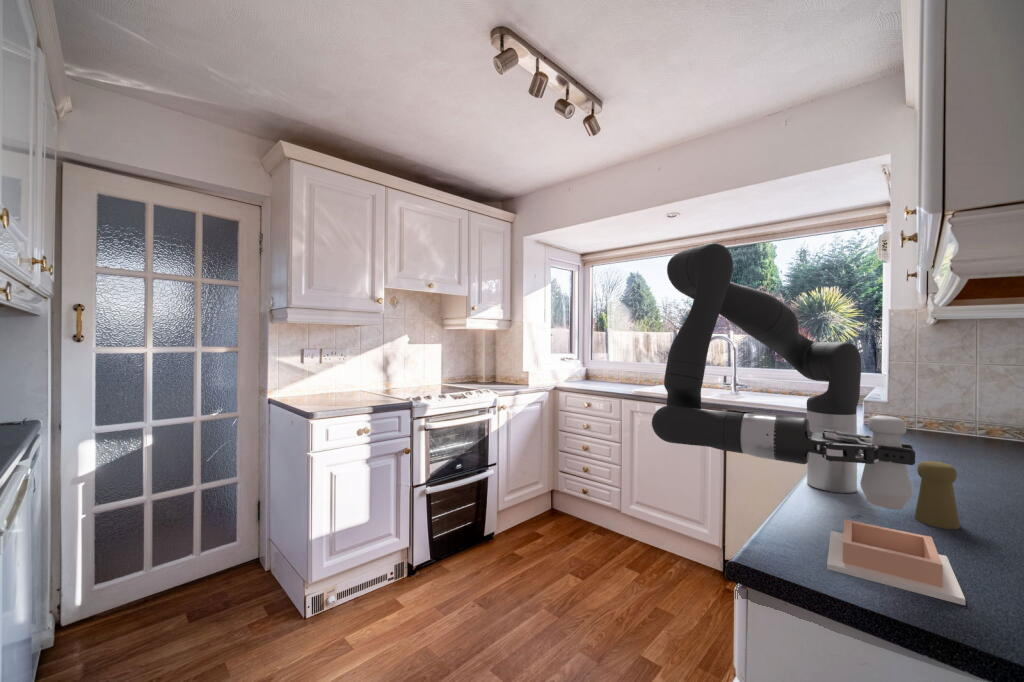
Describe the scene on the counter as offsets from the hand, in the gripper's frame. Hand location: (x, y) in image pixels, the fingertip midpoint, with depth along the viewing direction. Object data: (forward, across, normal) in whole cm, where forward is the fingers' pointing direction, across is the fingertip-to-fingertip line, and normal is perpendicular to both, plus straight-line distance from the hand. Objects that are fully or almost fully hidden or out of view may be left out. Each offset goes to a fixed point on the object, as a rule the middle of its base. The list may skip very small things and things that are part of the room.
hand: (912, 454), depth 62 cm
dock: (-3, 0, +17) cm, 17 cm away
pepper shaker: (+5, +26, +17) cm, 32 cm away
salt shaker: (-3, 0, +8) cm, 8 cm away
